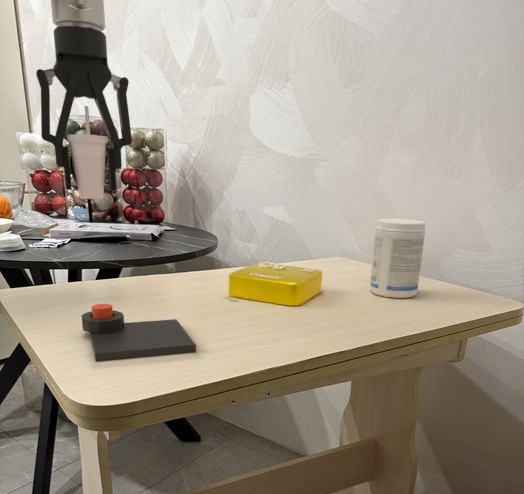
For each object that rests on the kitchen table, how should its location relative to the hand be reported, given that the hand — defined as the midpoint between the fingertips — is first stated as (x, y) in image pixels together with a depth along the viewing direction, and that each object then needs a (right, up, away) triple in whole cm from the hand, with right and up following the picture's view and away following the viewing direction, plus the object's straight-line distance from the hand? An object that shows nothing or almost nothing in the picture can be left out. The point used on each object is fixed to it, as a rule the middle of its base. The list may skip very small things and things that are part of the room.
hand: (91, 189), depth 86 cm
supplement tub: (+55, -15, +21) cm, 61 cm away
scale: (+11, -26, -13) cm, 31 cm away
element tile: (+31, -16, +17) cm, 39 cm away
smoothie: (0, -2, +1) cm, 2 cm away
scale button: (+5, -22, -12) cm, 26 cm away
